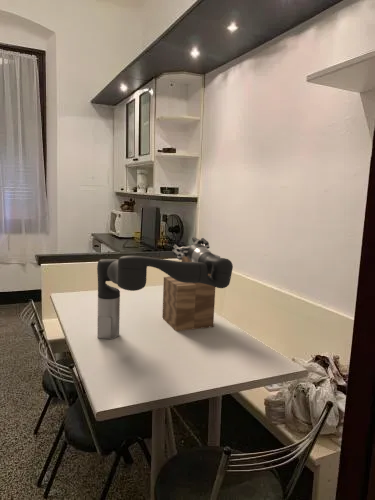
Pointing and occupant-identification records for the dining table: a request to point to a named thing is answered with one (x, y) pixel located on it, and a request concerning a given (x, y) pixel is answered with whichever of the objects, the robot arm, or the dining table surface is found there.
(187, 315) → the stand
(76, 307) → the dining table surface
